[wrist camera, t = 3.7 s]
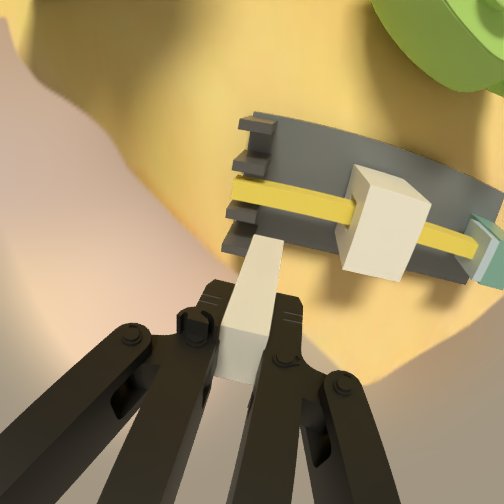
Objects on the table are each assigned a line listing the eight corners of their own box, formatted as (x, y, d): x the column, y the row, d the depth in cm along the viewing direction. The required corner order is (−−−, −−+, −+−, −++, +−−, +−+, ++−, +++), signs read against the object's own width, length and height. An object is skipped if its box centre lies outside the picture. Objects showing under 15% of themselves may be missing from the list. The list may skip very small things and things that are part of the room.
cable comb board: (234, 227, 31) (217, 262, 24) (253, 111, 25) (237, 114, 18) (462, 280, 29) (485, 317, 23) (500, 191, 23) (537, 216, 17)
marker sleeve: (334, 231, 27) (342, 269, 22) (353, 163, 24) (370, 184, 18) (381, 243, 27) (399, 282, 21) (403, 178, 24) (431, 204, 18)
